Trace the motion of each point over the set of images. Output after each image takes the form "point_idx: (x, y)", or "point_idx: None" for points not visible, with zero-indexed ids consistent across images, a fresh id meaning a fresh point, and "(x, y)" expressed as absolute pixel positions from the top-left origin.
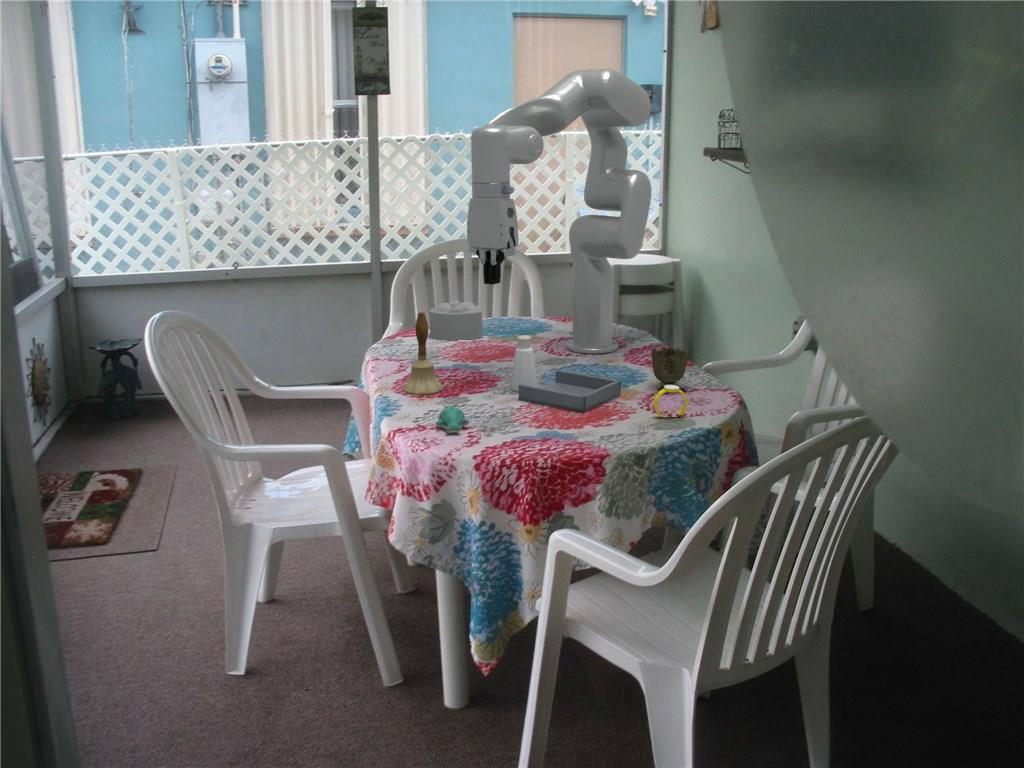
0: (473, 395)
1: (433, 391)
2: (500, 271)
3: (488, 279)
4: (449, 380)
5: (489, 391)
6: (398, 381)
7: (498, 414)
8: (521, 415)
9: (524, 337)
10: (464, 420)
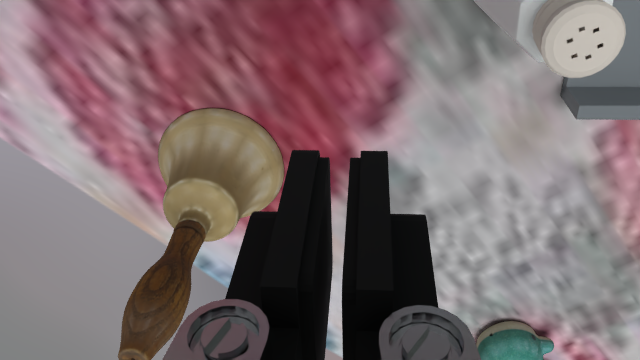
0: (396, 134)
1: (279, 185)
2: (430, 264)
3: (330, 274)
4: (204, 42)
5: (415, 71)
6: (93, 144)
7: (567, 230)
8: (637, 207)
9: (595, 61)
10: (546, 352)
